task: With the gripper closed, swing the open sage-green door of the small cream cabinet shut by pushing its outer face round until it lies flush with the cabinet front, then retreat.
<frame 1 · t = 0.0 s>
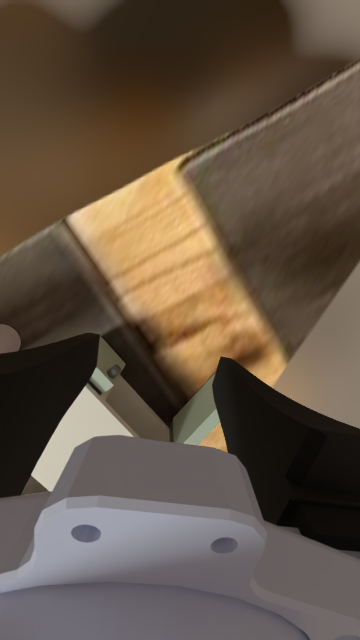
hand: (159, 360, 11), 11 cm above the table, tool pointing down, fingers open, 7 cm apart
door: (203, 415, 21), point 3 cm above the table, hinge at 80.0°
cabinet: (102, 411, 23), on the table
smoothie: (4, 340, 21), on the table
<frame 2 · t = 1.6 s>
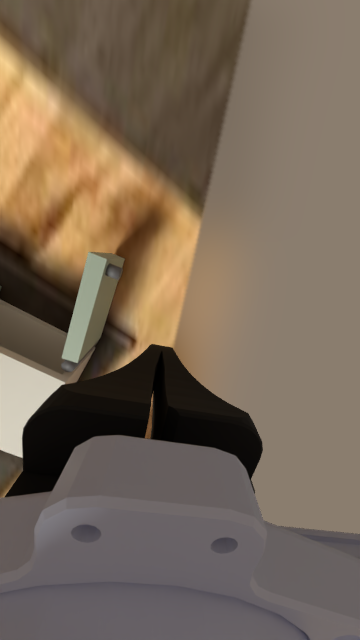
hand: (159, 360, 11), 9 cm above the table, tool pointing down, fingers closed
door: (99, 311, 16), point 3 cm above the table, hinge at 80.0°
cabinet: (14, 349, 20), on the table
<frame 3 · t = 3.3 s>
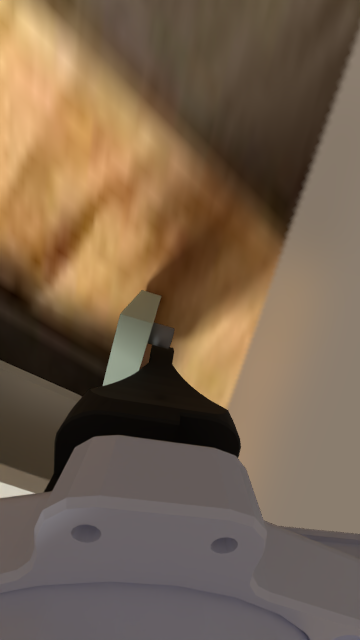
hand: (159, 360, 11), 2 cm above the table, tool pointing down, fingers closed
door: (131, 383, 11), point 3 cm above the table, hinge at 76.4°, touching gripper
cabinet: (9, 417, 15), on the table
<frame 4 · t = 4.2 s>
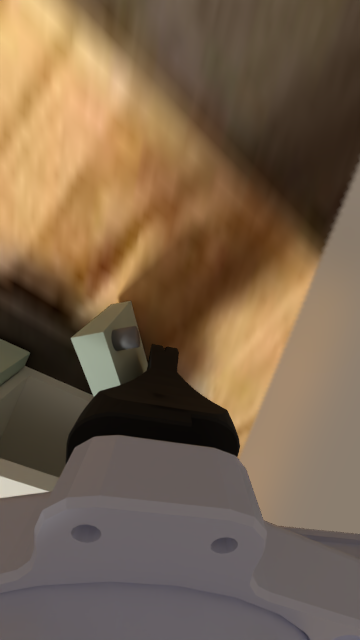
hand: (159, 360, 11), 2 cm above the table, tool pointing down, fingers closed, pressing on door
door: (140, 391, 11), point 3 cm above the table, hinge at 48.2°, touching gripper
cabinet: (44, 426, 15), on the table
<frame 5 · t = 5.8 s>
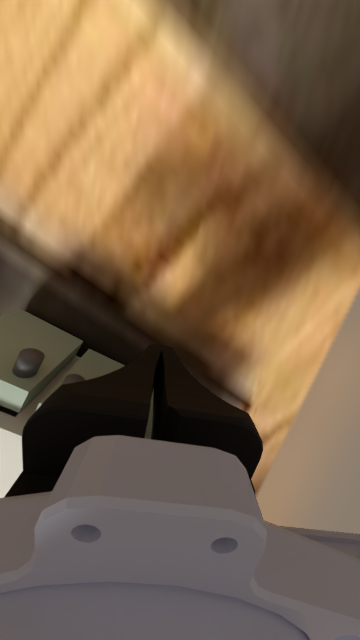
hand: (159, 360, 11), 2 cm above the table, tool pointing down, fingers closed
door: (146, 405, 11), point 3 cm above the table, hinge at -1.9°
cabinet: (87, 417, 15), on the table
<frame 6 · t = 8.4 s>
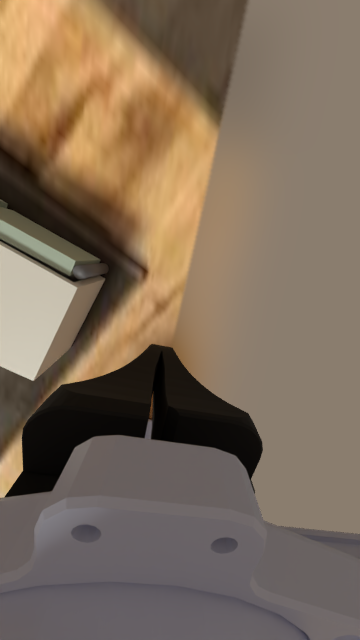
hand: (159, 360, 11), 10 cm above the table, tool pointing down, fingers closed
door: (47, 238, 16), point 3 cm above the table, hinge at -1.8°
cabinet: (20, 279, 19), on the table
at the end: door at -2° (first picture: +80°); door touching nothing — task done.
